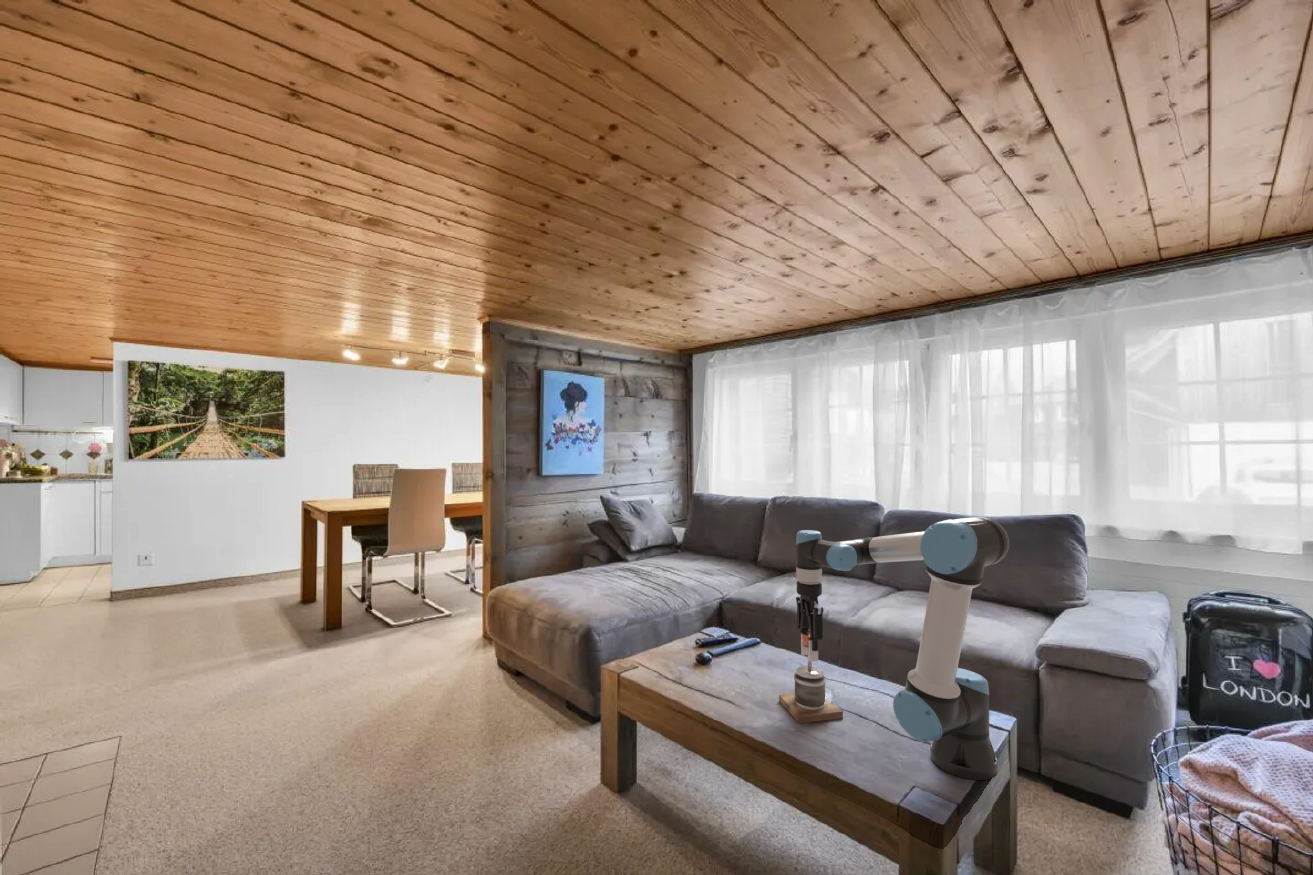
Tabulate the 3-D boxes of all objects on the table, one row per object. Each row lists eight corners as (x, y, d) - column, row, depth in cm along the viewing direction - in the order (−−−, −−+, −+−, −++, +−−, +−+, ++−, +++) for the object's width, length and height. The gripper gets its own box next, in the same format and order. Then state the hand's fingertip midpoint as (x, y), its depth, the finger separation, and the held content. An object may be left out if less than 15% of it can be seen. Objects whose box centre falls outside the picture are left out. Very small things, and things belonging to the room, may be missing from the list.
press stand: (842, 718, 164) (842, 684, 164) (799, 722, 161) (798, 688, 161) (819, 696, 178) (819, 665, 178) (779, 701, 175) (778, 669, 175)
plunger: (828, 677, 166) (827, 638, 167) (803, 680, 165) (803, 640, 165) (815, 667, 174) (815, 629, 174) (791, 669, 173) (791, 631, 173)
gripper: (834, 587, 162) (835, 667, 162) (807, 574, 179) (807, 646, 179) (811, 589, 161) (811, 669, 160) (785, 575, 178) (786, 648, 177)
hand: (809, 657), depth 170 cm, fingers closed on plunger, 4 cm apart
